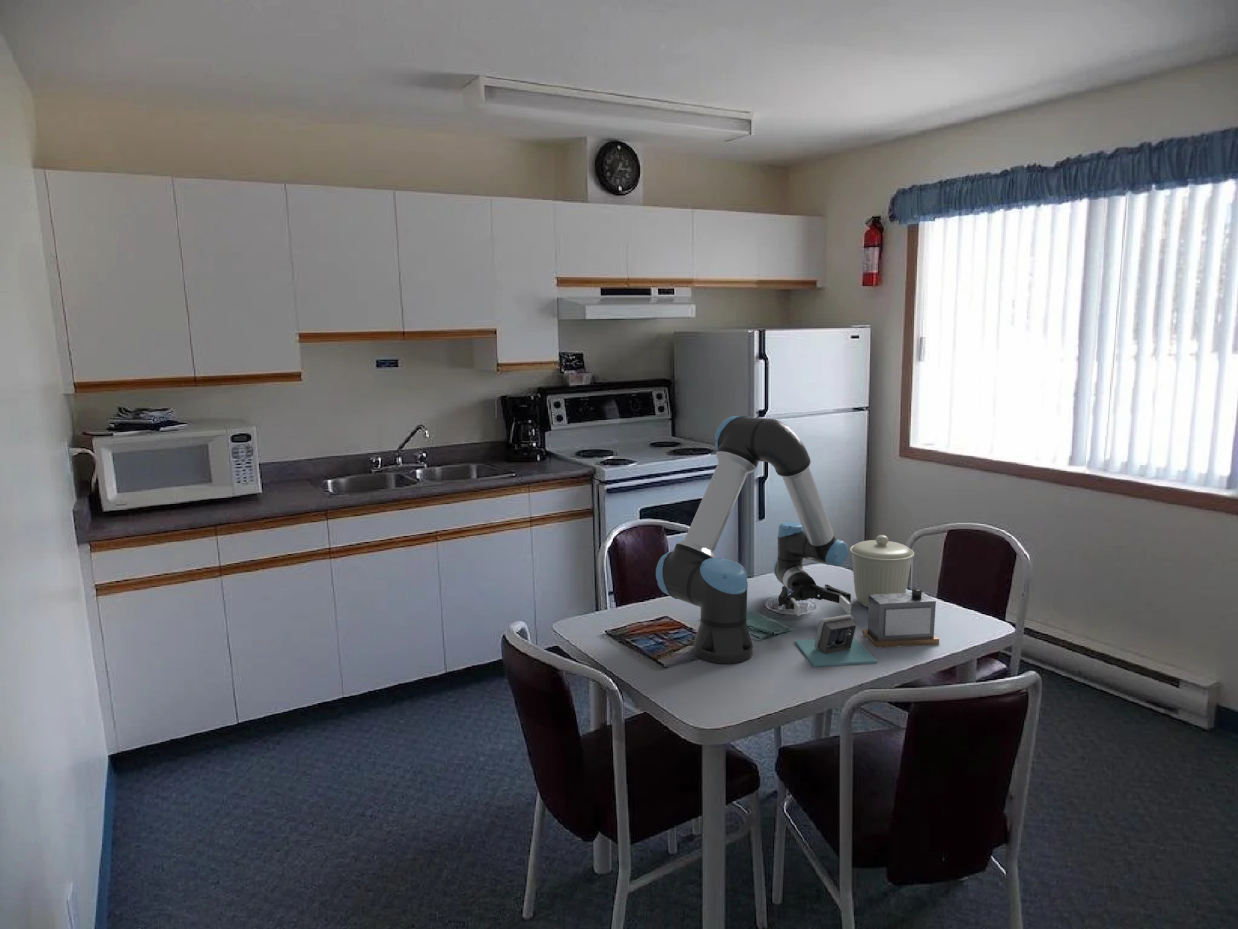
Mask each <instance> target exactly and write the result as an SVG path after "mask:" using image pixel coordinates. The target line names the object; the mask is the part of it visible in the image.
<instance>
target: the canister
mask: <svg viewBox="0 0 1238 929" xmlns="http://www.w3.org/2000/svg"><path fill="white" fill-rule="evenodd" d="M849 551H850V553H851V559H852V572H853V584H854V592H855V596H856V597H855V598H856V600H857V601H858V602H859V603H860V604H861V605H863V606H864V607H867V608H868V605H869V595H874V594H895V593H907V587H908V582H909V575H910V569H911V564H912V558H914V556H915V551H913V550H912V549H911V548H910V547H909V546H906V545H905V544H903V543H899V542H895V541H891V540H890V541H889V537H888V536H886V535H884V534H879V535H877V536H876V537H875V539H873V540H870V539H868V540H864V541H859V542H857V543H855V544H853V545H852V546H850V547H849Z"/></svg>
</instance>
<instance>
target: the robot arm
mask: <svg viewBox="0 0 1238 929" xmlns="http://www.w3.org/2000/svg"><path fill="white" fill-rule="evenodd" d="M714 440H715V442H714V446H715V448H716V450H717V451H716V453H715V455H716V458H717V460H718V462H717V465H716V467H715V469H714V470H713V474H712V476H711V479H710V480H709V483H708V485H707V488H706V489H705V492H704V494H703V497H702V499H701V501H700V503H699V506H698V508H697V510H696V513H695V515H694V517H693V520H692V522H691V524H690V526H689V529H688V530H687V532H686V535H685V538H684V539H682V540H681V541H677V542H676V544H675V546H674V548H673V550H671V551H668V552H665V554H663V555H662V556H661V557H660V558H659V560H658V562H657V564H656V568H655V578H656V579H655V580H656V581H657V585H658V587H659V589H660V590H661V592H662V593H664V594H666V595H667V596H670V597H671V598H673V599H675V600H679V601H683V602H686V603H687V604H691V605H694V606H696V607H700V622H699V625H698V629H697V632H696V634H695V638H694V640H693V653H694V652H695V653H694V654H696V655H695V656H696V657H697V658H699V659H701V660H703V661H705V662H706V661H707V662H709V663H712V664H713V663H714V664H723V665H724V664H726V665H727V664H730V665H731V664H736V663H742V662H746V661H747V660H749V659H750V658H752V656H753V654H754V644H753V643H754V642H753V639H752V636H751V634H750V631H749V628H748V623H747V615H748V614H747V613H748V610H747V608H748V586H749V584H748V583H749V582H748V574H747V571H746V568H745V567H744V566H743V565H742V564H741V563H739V562H737V561H735V560H732V559H730V558H729V559H728V558H721V557H716V556H715V550H716V548H717V547H718V544H719V541H720V539H721V537H722V535H723V532H724V530H725V527H726V524H727V523H728V520H729V518H730V516H731V514H732V511H733V509H734V506H735V504H736V503H737V502H736V501H737V499H738V497H739V495H740V492H741V491H742V488H743V486H744V483H745V481H746V479H747V477H748V474H751V473H754V472H755V471H756V470H757V467H758V465H759V462H764V463H769V464H770V465H771V466H772V467H773V468H774V470H775V472H776V474H777V475H778V476H779V477H782V480H783V482H784V485H785V487H786V489H787V493H788V494H789V497H790V500H791V502H792V504H793V507H794V509H795V510H794V511H795V512H796V516H797V517H798V519H799V522H798V521H784V522H781V523H780V524H779V525H778V530H777V533H778V534H777V560H776V562H775V563H774V565H773V574H774V575H775V577H776V579H777V581H778V582H779V583H781V584H782V586H781V591H780V594H779V595H778V607H783V606H785V607H784V609H785V610H792V611H793V613H794V614H796V616H798V617H800V616H802V615H801V609H802V608H801V605H800V603H799V602H801V601H806V600H808V599H811V600H813V599H814V600H817V601H822V600H823V601H828V602H833V603H836V604H838V605H839V607H840V608H842V609H843V611H845V612H846V614H847V615H848V614H850V615H851V613H852V611H851V610H852V602H851V601H852V594H851V593H849V592H846V591H844V590H841V589H838V588H835V587H833V586H832V585H830V584H824V586H823V587H822V586H819V585H817V583H816V581H815V580H814V578H813V577H811V575H810V574H808V572H806V570H804V568H803V564H804V563H803V561H804V559H806V560H809V561H813V562H817V563H820V564H825V565H826V566H835V567H840V566H842V565H843V564H845V562H846V561H847V559H848V556H849V547H848V544H847V543H846V542H845V541H844V540H841V539H836V536H835V533H834V530H833V528H832V525H831V523H830V520H829V517H828V515H827V512H826V508H825V506H824V504H823V501H822V499H821V496H820V494H819V491H818V487H817V485H816V483H815V480H814V477H813V475H812V472H811V471H812V470H810V465H811V463H812V461H811V457H810V456H809V452H808V451H807V449H806V446H805V444H804V443H803V441H802V440H801V438H800V437H799V436H798V434H797V433H796V432H795V431H794V430H793V429H792V428H791V427H790V426H789V425H788V424H786V423H785V422H783V421H781V420H779V419H774V418H762V417H755V416H754V417H753V416H748V415H733V416H730V417H727V418H725V419H724V420H722V422H721V423H720V424H719V426H718V427H717V429H716V432H715V436H714Z"/></svg>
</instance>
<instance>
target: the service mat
mask: <svg viewBox="0 0 1238 929" xmlns="http://www.w3.org/2000/svg"><path fill="white" fill-rule="evenodd" d="M815 641H816V638H815V639H814V638H813V639H797V640H796V639H795V640H794V644H797V645H796V646H797V647H798V648H799V650H800V651H801V652H802V654H803V655H804V656H805V658H806V659H807V660H808V661H809V662H810V664H811V665H812V666H813V667H814V668H815V667H817V668H818V667H827V666H828V667H830V666H831V667H832V666H833V667H834V666H850V665H867V664H868V665H869V664H877V663H878V660H877V659H876V658H875V657H874V656H873V655H872V654H871V653H870V652H869V651H868V650H867V649H866V648H865V647H864V646H863V645H862V643H860V642H859V641H858V640H857V639H856V637H853V641H852V645H851V648H850V650H845V651H840V652H834V653H829V654H824V653H823V651H821V650H820V649H819V650H816V648H815V647H814V645H815ZM833 648H834V649H835V647H833ZM831 649H832V648H831Z"/></svg>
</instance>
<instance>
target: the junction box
mask: <svg viewBox="0 0 1238 929" xmlns="http://www.w3.org/2000/svg"><path fill="white" fill-rule="evenodd" d="M936 603H937V601H936V600H935V599H933V598H932V597H931V596H929V595H928V594H927V593H925V592H924V591H923V590H922V589H921V588H916V587H915V588H911V592H906V593H895V594H874V595H869V605H868V607H867V608H868V610H867V628H862V629H861V635H862V634H863V635H862V636H863V637H864V638H865V639H866V638H867V639H868V640H867V639H866V640H867V641H868V642H869V643H870V644H871V645H872V644H873V645H874V646H875V647H876V649H877V648H878V647H882V648H895V647H897V648H899V647H898V646H901V647H916V645H919V646H933V645H932V644H936V645H937V644H938V645H940V638H939V637H938V636H936V635H935V623H936V621H935V620H936V619H935V618H936V605H937V604H936ZM873 645H872V646H873ZM936 645H935V646H936ZM874 646H873V647H874ZM875 647H874V648H875Z"/></svg>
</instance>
